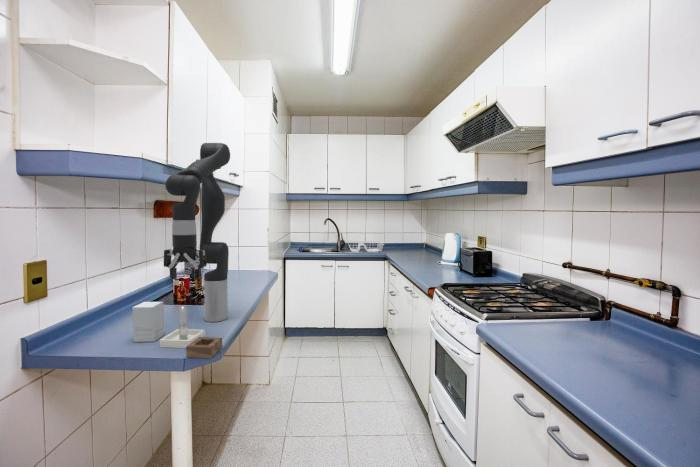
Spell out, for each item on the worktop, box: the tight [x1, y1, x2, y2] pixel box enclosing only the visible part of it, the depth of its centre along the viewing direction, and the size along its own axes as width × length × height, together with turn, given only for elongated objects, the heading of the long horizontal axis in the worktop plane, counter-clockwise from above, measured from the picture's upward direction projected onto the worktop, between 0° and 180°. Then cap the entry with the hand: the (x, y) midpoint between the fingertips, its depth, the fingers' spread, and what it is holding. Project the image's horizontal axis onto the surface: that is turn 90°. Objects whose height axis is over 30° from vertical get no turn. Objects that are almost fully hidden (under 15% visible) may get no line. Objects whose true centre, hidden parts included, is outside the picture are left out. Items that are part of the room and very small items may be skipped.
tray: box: [158, 328, 206, 349], centre depth 115 cm, size 11×11×2 cm
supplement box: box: [131, 301, 165, 343], centre depth 118 cm, size 7×7×13 cm
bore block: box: [185, 336, 223, 359], centre depth 107 cm, size 8×8×4 cm
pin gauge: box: [178, 304, 188, 340], centre depth 115 cm, size 3×3×12 cm
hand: (185, 279), depth 114 cm, fingers open, 8 cm apart
